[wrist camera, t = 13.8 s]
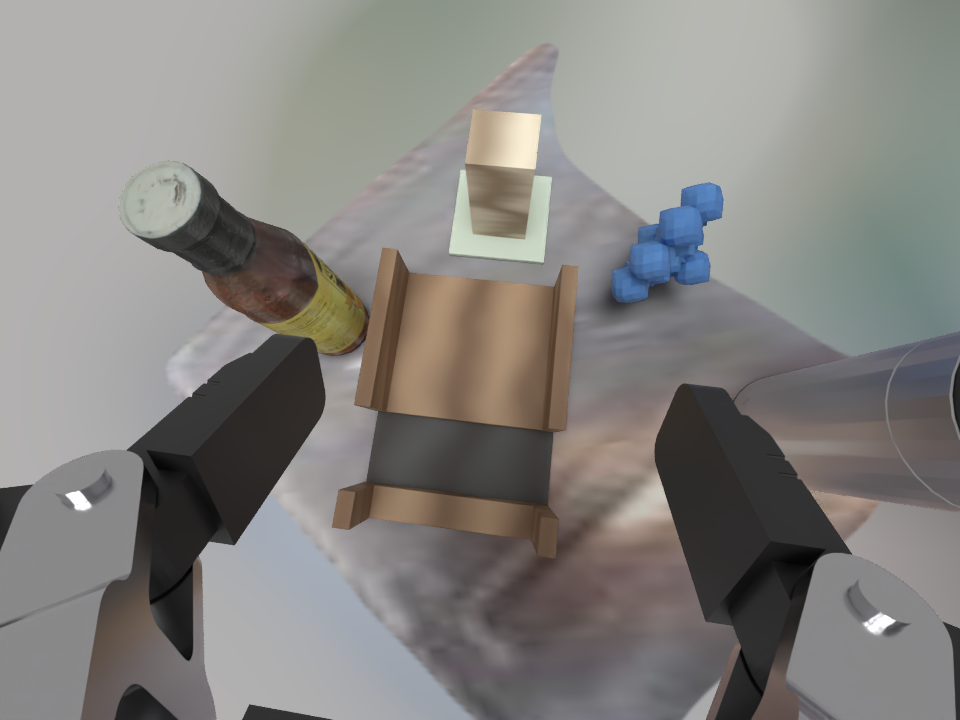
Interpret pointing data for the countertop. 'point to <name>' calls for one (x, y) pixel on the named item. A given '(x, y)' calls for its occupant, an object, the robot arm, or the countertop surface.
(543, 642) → the countertop surface
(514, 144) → the block
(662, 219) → the grapes
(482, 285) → the wooden holder
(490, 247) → the mat
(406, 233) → the countertop surface
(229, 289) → the sauce bottle
